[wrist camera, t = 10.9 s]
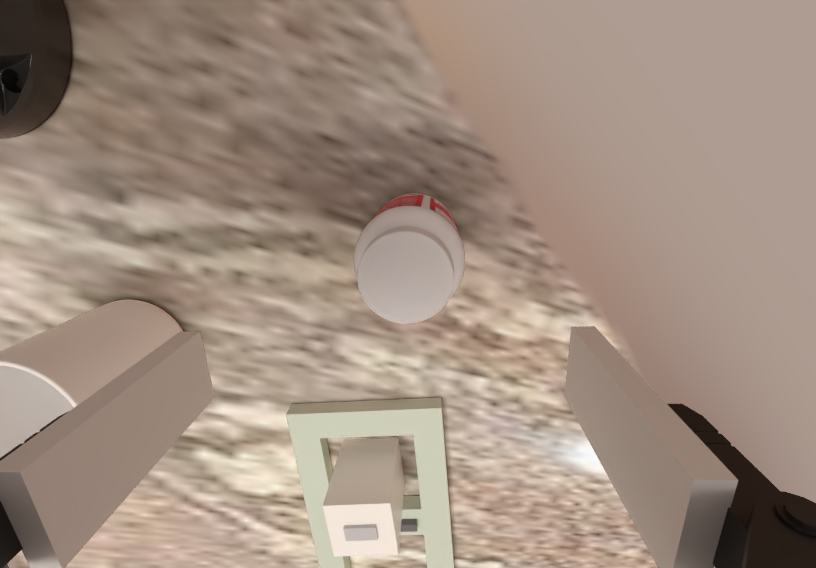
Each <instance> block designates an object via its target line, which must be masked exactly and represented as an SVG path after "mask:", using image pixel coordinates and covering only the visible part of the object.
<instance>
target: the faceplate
mask: <svg viewBox="0 0 816 568" xmlns="http://www.w3.org/2000/svg"><path fill="white" fill-rule="evenodd" d="M286 417H287V422H288V427H289V431H290V436H291V440H292V445H293V449H294V454H295V458H296V463H297V468H298V472H299V477H300V481H301V486H302V490H303V495H304V499H305V504H306V508H307V513H308V518H309V522H310V527H311V531H312V536H313V540H314V545H315V549H316V554H317V558H318V563H319V568H351V566H350V561H349V556H336V557H334V554H333V550H332V545H331V541H330V536H329V532H328V528H327V523H326V519H325V515H324V510H323V503H324V500H325V496H326V493H327V490H328V487H329V484H330V480H331V477H332V474H333V470H332V465H331V459H330V454H329V449H328V443H327V438H344V437H370V436H397V435H414V445H415V454H416V464H417V473H418V483H419V492H420V496H404V497H403V509H402V521H401V532H400V535H424V539H425V549H426V558H427V568H454V557H453V544H452V531H451V518H450V505H449V492H448V480H447V467H446V454H445V441H444V428H443V415H442V402H441V397H435V398H413V399H391V400H369V401H346V402H324V403H302V404H292V405H291V407H290V408H289V410H288V412H287V414H286Z"/></svg>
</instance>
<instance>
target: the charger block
mask: <svg viewBox="0 0 816 568" xmlns="http://www.w3.org/2000/svg"><path fill="white" fill-rule="evenodd" d="M404 486H405V480H404V474H403V467H402V460H401V453H400V446H399V439H398V437H397V438H379V439H360V440H343V442H342V445H341V449H340V452H339V455H338V458H337V461H336V465H335V468H334V471H333V474H332V477H331V480H330V484H329V487H328V490H327V493H326V496H325V500H324V503H323V510H324V515H325V519H326V523H327V528H328V532H329V536H330V541H331V545H332V550H333V554H334V557H336V556H374V555H399V544H400V532H401V521H402V509H403V497H404Z"/></svg>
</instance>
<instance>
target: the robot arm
mask: <svg viewBox="0 0 816 568" xmlns="http://www.w3.org/2000/svg"><path fill="white" fill-rule="evenodd" d="M70 55H71V49H70V34H69V27H68V21H67V17H66V12H65V9H64V5H63V2H62V0H0V139H5V138H11V137H15V136H19V135H21V134H24V133H26V132H28V131H31V130H32V129H34V128H36V127H37V126H38V125H40V124H41V123H42V122H43V121H44V120H45V119H47V117H48V116H49V115H50V114H51V113H52V112H53V110H54V109H55V107H56V106H57V104H58V102H59V101H60V99H61V96H62V94H63V92H64V89H65V86H66V83H67V79H68V74H69V68H70ZM564 396H565V398H566V400H567V402H568V404H569V405H570V407H571V409H572V411H573V413H574V415H575V416H576V418H577V420H578V422H579V424H580V426H581V427H582V429H583V431H584V433H585V435H586V437H587V438H588V440H589V442H590V444H591V446H592V447H593V449H594V451H595V453H596V455H597V457H598V458H599V460H600V462H601V464H602V466H603V468H604V469H605V471H606V473H607V475H608V477H609V479H610V480H611V482H612V484H613V486H614V488H615V489H616V491H617V493H618V495H619V497H620V499H621V500H622V502H623V504H624V506H625V508H626V510H627V511H628V513H629V515H630V517H631V519H632V521H633V522H634V524H635V526H636V528H637V530H638V532H639V533H640V535H641V537H642V539H643V541H644V542H645V544H646V546H647V548H648V550H649V552H650V553H651V555H652V557H653V559H654V561H655V563H656V564H657V566H658V568H714V566H715V568H816V503H814V502H812V501H810V500H808V499H806V498H804V497H800V496H797V495H794V494H791V493H787V492H780V491H779V490H778V489H777V488H776V487H775V486H774V485H773V484H772V483H771V482H770V481H769V480H768V479H767V478H766V477H765V476H764V475H763V474H762V473H761V472H760V471H759V470H758V469H757V468H756V467H754V465H753V464H752V463H750V462H749V461H748V460H747V459H746V458H745V457H744V456H743V455H742V454H741V453H740V452H739V451H738V450H737V449H736V448H735V447H733V446H731V443H730V442H729V441H728V440H727V439H726V438H725V437H724V436H723V435H722V434H718V431H717V429H715V428H714V427H713V426H712V425H711V424H710V423H709V422H708V421H707V420H706V419H705V418H704V417H703V416H702V415H700V414H698V413H697V412H695V411H693V410H691V409H690V408H688V407H686V406H685V405H683V404H667V403H666V402H665V401H664V400H663V399H662V398H661V397H660V396H659V395H658V394H657V393H656V392H655V391H654V390H653V389H652V388H651V386H650V385H649V384H648V383H647V382H646V381H645V380H644V379H643V378H642V377H641V376H640V375H639V374H638V372H637V371H636V370H635V369H634V368H633V367H632V366H631V365H630V364H629V363H628V362H627V361H626V360H625V359H624V357H623V356H622V355H621V354H620V353H619V352H618V351H617V350H616V349H615V348H614V347H613V346H612V345H611V344H610V343H609V341H608V340H607V339H606V338H605V337H604V336H603V335H602V334H601V333H600V332H599V331H598V330H597V329H596V328H595V327H594V326H592V327H571V335H570V345H569V355H568V365H567V375H566V385H565V395H564ZM214 397H215V395H214V391H213V387H212V382H211V378H210V373H209V369H208V364H207V360H206V355H205V351H204V347H203V342H202V338H201V333H200V331H194V332H179V333H177V334H176V335H174V336H173V337H172V338H170V339H169V340H168V341H166V342H165V343H163V344H162V345H161V346H159V347H158V348H156V349H155V350H154V351H152V352H151V353H149V354H148V355H147V356H145V357H144V358H143V359H141V360H140V361H138V362H137V363H136V364H134V365H133V366H131V367H130V368H129V369H127V370H126V371H124V372H123V373H122V374H120V375H119V376H118V377H116V378H115V379H113V380H112V381H111V382H109V383H108V384H106V385H105V386H104V387H102V388H101V389H99V390H98V391H97V392H95V393H94V394H93V395H91V396H90V397H88V398H87V399H86V400H84V401H83V402H81V403H80V404H79V405H77V406H76V407H74V408H73V409H72V410H70V411H68V412H66V413H64V414H62V415H60V416H58V417H57V418H56V419H54V420H53V421H51V422H50V423H49V424H47V425H46V426H44V427H43V428H42V429H40V431H39V432H36V433H35V434H33V435H32V436H30V437H29V438H28V439H26V440H25V441H24V443H23V444H19V445H18V446H16V447H15V448H13V449H12V450H11V451H9V452H8V453H6V454H5V455H4V456H2V457H1V458H0V568H9V567H8V565H7V563H8V562H9V561H10V560H11V559H12V558H13V557H14V556H15V555H16V554H17V553H18V552H19V551H21V550H22V551H23V554H24V556H25V558H26V560H27V562H28V564H29V566H30V568H65V567H66V566H67V565H68V563H69V562H70V561H71V560H72V559H73V558H74V557H75V556H76V554H77V553H78V552H79V551H80V550H81V549H82V548H83V546H84V545H85V544H86V543H87V542H88V541H89V540H90V538H91V537H92V536H93V535H94V534H95V533H96V532H97V530H98V529H99V528H100V527H101V526H102V525H103V524H104V522H105V521H106V520H107V519H108V518H109V517H110V516H111V514H112V513H113V512H114V511H115V510H116V509H117V508H118V507H119V505H120V504H121V503H122V502H123V501H124V500H125V499H126V497H127V496H128V495H129V494H130V493H131V492H132V491H133V489H134V488H135V487H136V486H137V485H138V484H139V483H140V481H141V480H142V479H143V478H144V477H145V476H146V475H147V473H148V472H149V471H150V470H151V469H152V468H153V467H154V465H155V464H156V463H157V462H158V461H159V460H160V459H161V458H162V456H163V455H164V454H165V453H166V452H167V451H168V450H169V448H170V447H171V446H172V445H173V444H174V443H175V442H176V440H177V439H178V438H179V437H180V436H181V435H182V434H183V432H184V431H185V430H186V429H187V428H188V427H189V426H190V424H191V423H192V422H193V421H194V420H195V419H196V418H197V416H198V415H199V414H200V413H201V412H202V411H203V410H204V409H205V407H206V406H207V405H208V404H209V403H210V402H211V401H212V399H213V398H214Z"/></svg>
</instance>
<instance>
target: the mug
mask: <svg viewBox="0 0 816 568" xmlns="http://www.w3.org/2000/svg"><path fill="white" fill-rule="evenodd" d="M179 332H183V330H182V328H181V327H180V326H179V324H178V323H177V322H176V321H175V320H174V319H173V318H172V317H171V316H170V315H169V314H168V313H166V312H165V311H164V310H162V309H160V308H159V307H157V306H155V305H153V304H150V303H147V302H143V301H139V300H130V299H128V300H119V301H113V302H110V303H107V304H104V305H102V306H99V307H97V308H95V309H93V310H90V311H88V312H86V313H84V314H82V315H79V316H77V317H75V318H73V319H71V320H68V321H66V322H64V323H62V324H60V325H58V326H55V327H53V328H51V329H49V330H47V331H44V332H42V333H40V334H38V335H36V336H33V337H31V338H29V339H27V340H25V341H22V342H20V343H18V344H16V345H14V346H11V347H9V348H7V349H5V350H3V351H0V458H1V457H2V456H4V455H5V454H6V453H8V452H9V451H11V450H12V449H13V448H15V447H16V446H18V445H19V444H23V443H24V441H25V440H26V439H28V438H29V437H30V436H32V435H33V434H35V433H36V432H39V431H40V429H42V428H43V427H44V426H46V425H47V424H49V423H50V422H51V421H53V420H54V419H56V418H57V417H58V416H60V415H62V414H64V413H66V412H68V411H70V410H72V409H73V408H74V407H76V406H77V405H79V404H80V403H81V402H83V401H84V400H86V399H87V398H88V397H90V396H91V395H93V394H94V393H95V392H97V391H98V390H99V389H101V388H102V387H104V386H105V385H106V384H108V383H109V382H111V381H112V380H113V379H115V378H116V377H118V376H119V375H120V374H122V373H123V372H124V371H126V370H127V369H129V368H130V367H131V366H133V365H134V364H136V363H137V362H138V361H140V360H141V359H143V358H144V357H145V356H147V355H148V354H149V353H151V352H152V351H154V350H155V349H156V348H158V347H159V346H161V345H162V344H163V343H165V342H166V341H168V340H169V339H170V338H172V337H173V336H174V335H176V334H177V333H179Z"/></svg>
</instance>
